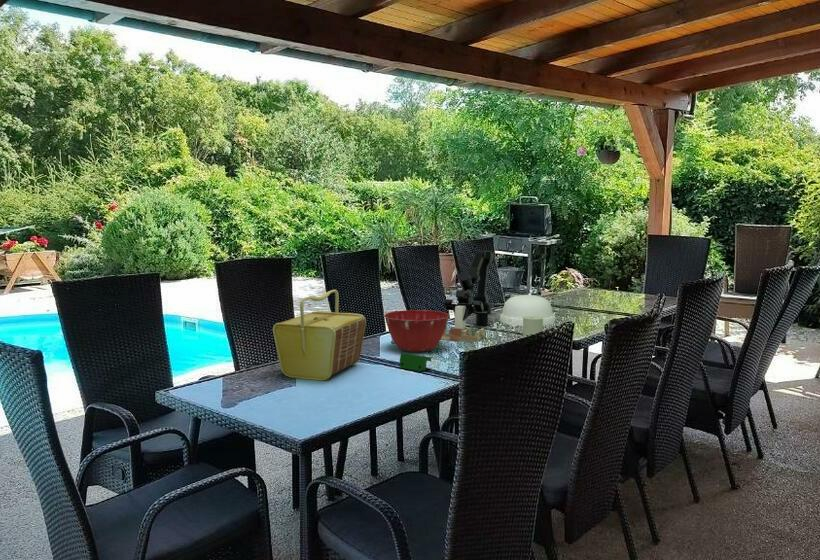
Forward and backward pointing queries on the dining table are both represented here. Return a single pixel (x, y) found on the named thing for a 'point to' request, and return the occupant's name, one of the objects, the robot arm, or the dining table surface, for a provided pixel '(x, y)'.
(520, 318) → the dome cover
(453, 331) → the rack
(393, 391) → the dining table surface
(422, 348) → the mixing bowl
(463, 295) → the robot arm
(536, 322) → the can
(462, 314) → the tall off-white box
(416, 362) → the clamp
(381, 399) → the dining table surface
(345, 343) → the picnic basket
